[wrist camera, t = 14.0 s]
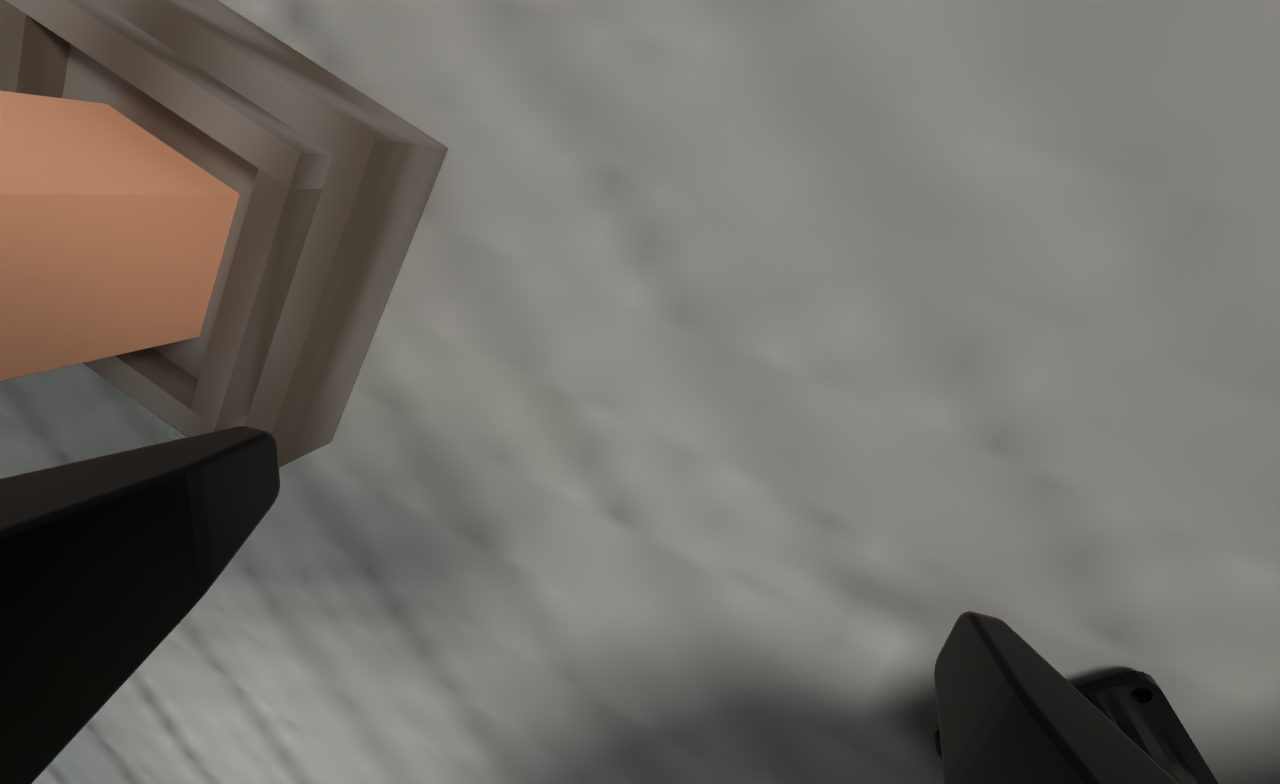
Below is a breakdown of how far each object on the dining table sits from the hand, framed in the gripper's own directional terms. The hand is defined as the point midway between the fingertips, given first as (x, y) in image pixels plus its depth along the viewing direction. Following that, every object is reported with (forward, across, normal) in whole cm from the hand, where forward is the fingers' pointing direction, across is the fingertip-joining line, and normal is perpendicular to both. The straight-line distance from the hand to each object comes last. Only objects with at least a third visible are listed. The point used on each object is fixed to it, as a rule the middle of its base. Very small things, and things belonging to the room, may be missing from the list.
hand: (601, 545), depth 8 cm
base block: (+14, +16, +2) cm, 22 cm away
